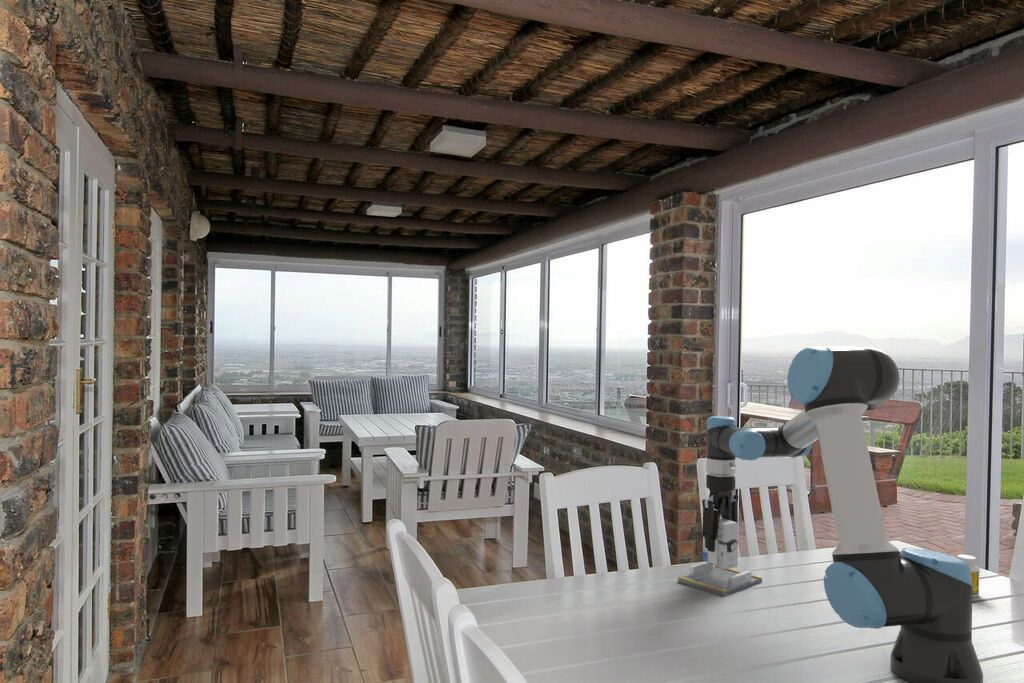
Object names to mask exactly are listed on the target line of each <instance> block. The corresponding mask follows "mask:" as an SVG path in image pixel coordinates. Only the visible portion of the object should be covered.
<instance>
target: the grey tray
mask: <svg viewBox="0 0 1024 683" xmlns="http://www.w3.org/2000/svg"><path fill="white" fill-rule="evenodd" d="M677 582H678V583H680V584H683V585H685V586H688V587H693V588H695V589H699V590H702V591H705V592H709V593H711V594H715V595H718V596H721V597H727V596H729V595H732V594H734V593H737V592H739V591H742V590H745V589H748V588H749V587H752V586H755V585H757V584H760V583H763V578H762V576H758V575H755V574H752V571H750V570H745V571H740V570H737V569H734V568H729V569H722V568H720V567H717V566H715V565H712V564H710V563H707V562H705V561H702V562H698V563H695V564H693V565H689V574H687V575H684V576H678V578H677Z"/></svg>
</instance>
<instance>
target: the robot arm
mask: <svg viewBox="0 0 1024 683" xmlns="http://www.w3.org/2000/svg"><path fill="white" fill-rule="evenodd" d="M786 384H787V389H788V393H789V396H790V397H791V398H792V399H793V401H794V402H796V403H798V404H800V405H803V408H804V409H803V410H802V411H801V412H799V413H798V414H796V415H795V416H794V417H793V418H791V419H790V420H788V421H787V422H786V423H783V425H781V426H779V427H738V426H737V420H736V419H735V417H732V416H727V415H726V416H724V415H716V416H715V415H714V416H709V417H708V418H707V420H706V429H705V433H706V435H705V436H706V438H705V439H706V459H705V461H706V463H705V466H706V467H705V472H706V473H707V474H706V477H705V479H706V480H705V485H706V486H705V487H706V489H708V491H709V494H708V498H707V499H702V500H701V503H702V525H701V527H702V529H701V530H702V532H701V536H702V538H703V537H705V538H707V539H708V563H712V564H716V565H718V542H719V540H718V539H716V538H717V532H718V523H719V521H720V517H721V518H724V519H728V520H730V521H734V522H736V523H737V524H738V525H739V523H738V522H739V516H738V514H739V513H738V503H739V495H738V494H734V493H733V492H732V491H734V490H736V476H735V474H736V458H738V459H740V460H743V461H756V460H757V459H760V458H761V459H762V458H764V459H765V458H798V457H805V456H808V455H809V454H810V452H811V449H812V448H813V443H815V442H816V441H818V444H819V449H820V454H821V458H822V463H823V469H824V474H825V480H826V485H827V489H828V490H827V491H828V495H829V501H830V506H831V511H832V516H833V522H834V526H835V533H836V538H837V542H838V543H837V546H835V549H834V550H833V551H832V553H831V556H832V562H833V563H831V564H830V565H828V566H827V567H826V568H825V571H824V573H825V575H824V576H823V587H824V588H823V589H824V592H825V595H826V598H827V600H828V603H829V604H830V605H829V606H830V607H831V608H832V609H833V611H834V612H835V614H837V615H838V617H839V618H840V619H841V620H842V621H843V622H844V623H846V624H848V625H849V626H851V627H854V628H857V629H876V630H877V629H882V628H886V627H897V626H900V629H899V632H898V634H897V636H896V640H895V642H894V645H893V647H892V649H891V652H890V663H889V664H890V666H889V667H890V668H891V670H892V672H893V673H894V674H896V676H898V677H899V678H901V679H903V680H904V681H907V682H909V683H984V675H983V674H984V673H983V670H982V667H981V665H980V664H981V663H980V661H979V658H978V655H977V653H976V649H975V647H974V644H973V639H972V638H973V637H972V636H973V634H972V631H973V630H972V629H973V597H972V586H973V583H972V577H971V569H970V566H969V565H968V564H967V563H966V562H965V561H963V560H961V559H959V558H957V557H956V556H953V555H950V554H946V553H942V552H938V551H935V550H934V551H933V550H929V549H923V548H916V547H903V548H902V549H901V554H900V553H899V551H900V550H899V548H898V547H897V546H895V545H894V544H892V543H891V542H890V540H888V537H887V532H886V526H885V521H884V517H883V513H882V512H883V511H882V507H881V503H880V498H879V494H878V489H877V484H876V479H875V476H874V471H873V470H874V469H873V466H872V461H871V456H870V450H869V446H868V442H867V438H866V433H865V428H864V424H863V418H862V416H863V414H864V413H865V412H870V411H874V410H876V409H878V408H879V407H881V406H882V405H884V404H885V403H887V402H888V401H889V400H890V399H891V398H892V397H894V395H895V394H896V392H897V390H898V388H899V385H900V372H899V368H898V365H897V363H896V362H895V361H894V360H893V358H892V357H891V356H889V355H888V354H887V353H886V352H884V351H882V350H880V349H877V348H874V347H870V346H859V347H858V346H828V345H820V346H812V347H811V346H810V347H806V348H803V349H802V350H800V351H799V352H797V353H796V354H795V355H794V357H793V359H792V361H791V363H790V365H789V368H788V370H787V382H786ZM900 557H901V558H900Z"/></svg>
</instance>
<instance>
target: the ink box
mask: <svg viewBox="0 0 1024 683" xmlns="http://www.w3.org/2000/svg"><path fill="white" fill-rule="evenodd" d="M738 531H739V523H738V524H737V523H736V522H734V521H730V520H728V519H724V518H722V517H721V516H720V521H719V523H718V532H717V538H716V539H718V540H719V542H718V565H716V564H712V563H710V564H712V565H713V566H717V567H720V568H722V569H729V568H730V569H734V568H738V563H739V560H738V559H739V558H738V556H739V555H738V553H739V551H738V550H739V548H738V547H739V546H738V544H739V541H738V540H739V539H738V538H739V537H738V536H739V534H738V533H739V532H738ZM702 562H707V563H708V539H707V538H705V537H703V536H702Z"/></svg>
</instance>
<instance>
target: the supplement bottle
mask: <svg viewBox="0 0 1024 683" xmlns="http://www.w3.org/2000/svg"><path fill="white" fill-rule="evenodd" d="M956 558H959V559H961V560H963V561H965V562H966V563H967V564H968V565H969V566H970V569H971V577H972V583H973V586H972V598H977V597H979V595H980V593H979V592H980V569H979V566H977V565H976V563H977V558H976V557H975V556H974V555H969V554H958V555H957V557H956Z"/></svg>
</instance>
